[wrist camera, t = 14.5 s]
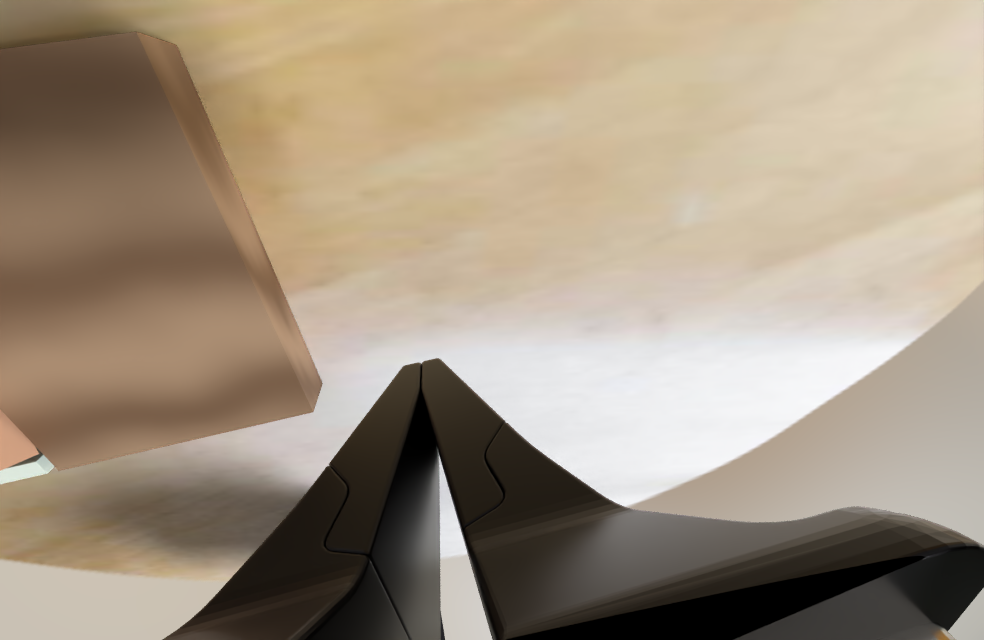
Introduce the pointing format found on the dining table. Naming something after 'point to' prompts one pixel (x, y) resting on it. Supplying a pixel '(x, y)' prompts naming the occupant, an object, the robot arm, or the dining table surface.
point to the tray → (26, 469)
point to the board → (130, 261)
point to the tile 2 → (13, 444)
